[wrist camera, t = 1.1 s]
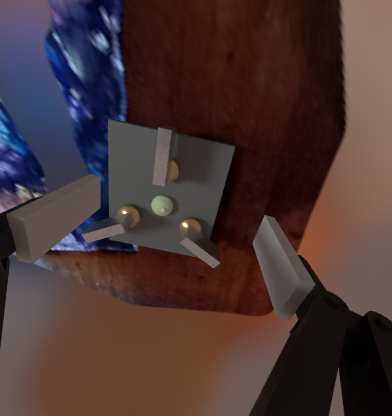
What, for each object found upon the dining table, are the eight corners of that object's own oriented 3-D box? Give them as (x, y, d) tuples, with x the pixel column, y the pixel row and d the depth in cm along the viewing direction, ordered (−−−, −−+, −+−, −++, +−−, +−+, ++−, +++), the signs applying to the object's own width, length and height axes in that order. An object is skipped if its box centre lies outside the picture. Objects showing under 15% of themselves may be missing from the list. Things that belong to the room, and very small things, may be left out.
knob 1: (135, 201, 36) (122, 215, 31) (144, 220, 38) (134, 236, 33) (94, 213, 38) (77, 228, 33) (106, 231, 40) (90, 248, 35)
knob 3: (175, 226, 38) (169, 243, 33) (189, 212, 37) (185, 228, 32) (208, 252, 40) (208, 271, 35) (223, 240, 39) (225, 258, 34)
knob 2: (177, 183, 34) (171, 195, 29) (153, 178, 34) (143, 189, 29) (186, 129, 30) (181, 132, 25) (159, 123, 30) (148, 125, 25)
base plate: (113, 119, 32) (104, 119, 30) (233, 145, 33) (236, 147, 30) (113, 234, 43) (106, 242, 40) (204, 252, 43) (204, 262, 41)
